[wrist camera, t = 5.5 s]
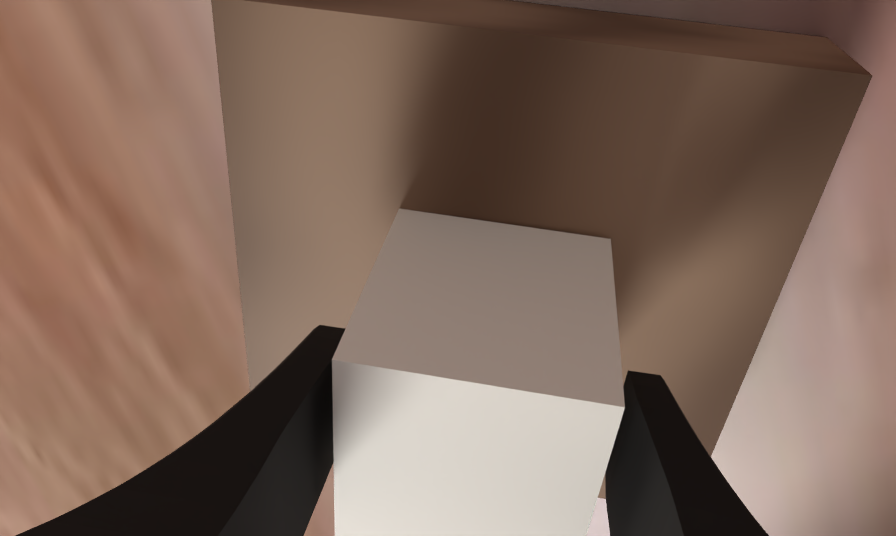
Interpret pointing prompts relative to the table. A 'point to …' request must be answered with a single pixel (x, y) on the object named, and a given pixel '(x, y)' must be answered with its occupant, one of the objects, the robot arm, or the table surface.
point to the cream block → (477, 383)
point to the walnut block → (531, 160)
